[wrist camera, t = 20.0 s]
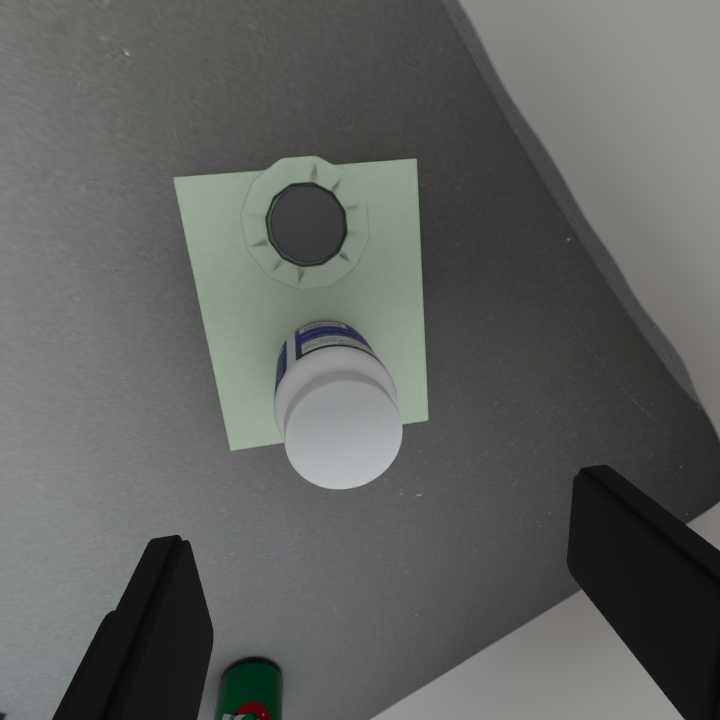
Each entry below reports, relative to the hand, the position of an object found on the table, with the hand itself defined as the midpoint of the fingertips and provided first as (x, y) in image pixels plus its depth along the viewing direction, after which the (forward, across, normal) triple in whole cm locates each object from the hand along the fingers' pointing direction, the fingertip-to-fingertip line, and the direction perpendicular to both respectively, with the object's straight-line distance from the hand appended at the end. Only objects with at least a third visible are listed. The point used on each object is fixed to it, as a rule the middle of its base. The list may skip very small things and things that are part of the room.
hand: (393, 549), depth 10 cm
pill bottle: (+16, +1, 0) cm, 17 cm away
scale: (+18, +1, -3) cm, 19 cm away
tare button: (+15, +1, -8) cm, 17 cm away
